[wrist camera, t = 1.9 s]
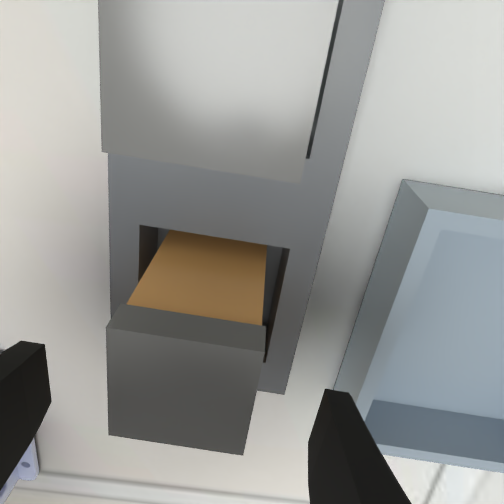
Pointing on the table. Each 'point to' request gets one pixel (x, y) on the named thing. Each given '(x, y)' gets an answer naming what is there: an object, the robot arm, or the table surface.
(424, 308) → the parts tray
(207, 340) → the block
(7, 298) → the table surface
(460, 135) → the table surface
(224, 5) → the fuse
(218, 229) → the block
